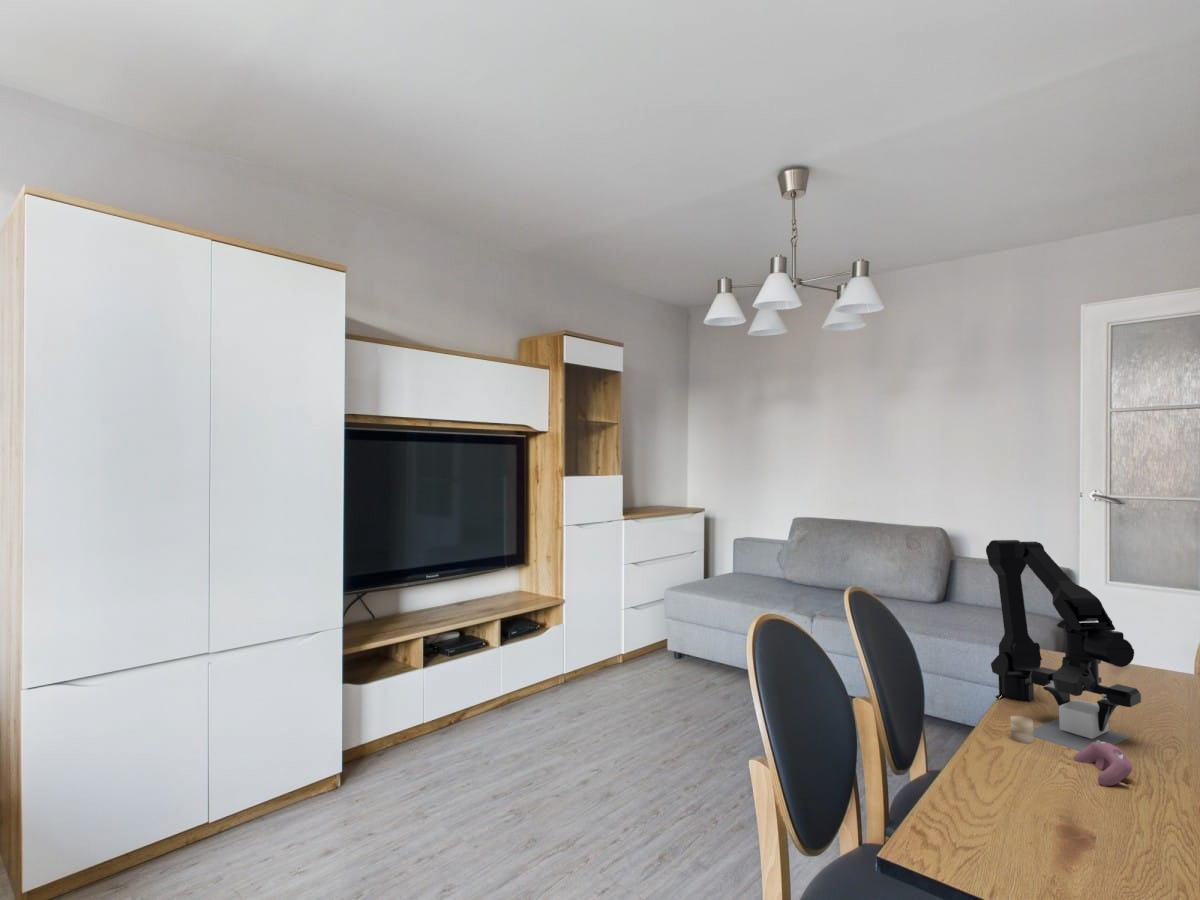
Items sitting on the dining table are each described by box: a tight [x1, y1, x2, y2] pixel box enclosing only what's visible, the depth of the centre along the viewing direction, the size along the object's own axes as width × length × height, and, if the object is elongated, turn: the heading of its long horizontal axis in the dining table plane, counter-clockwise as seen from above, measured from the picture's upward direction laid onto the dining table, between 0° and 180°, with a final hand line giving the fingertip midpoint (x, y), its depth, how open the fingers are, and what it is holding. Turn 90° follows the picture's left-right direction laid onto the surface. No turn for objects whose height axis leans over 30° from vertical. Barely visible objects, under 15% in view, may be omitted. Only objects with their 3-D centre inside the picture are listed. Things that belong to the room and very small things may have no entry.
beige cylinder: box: [1010, 715, 1035, 744], centre depth 135 cm, size 4×4×5 cm
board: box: [1033, 717, 1132, 752], centre depth 137 cm, size 13×17×1 cm
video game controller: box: [1073, 740, 1133, 787], centre depth 121 cm, size 10×5×7 cm, turn 169°
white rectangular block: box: [1058, 698, 1110, 739], centre depth 139 cm, size 6×8×5 cm
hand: (1084, 726), depth 139 cm, fingers closed on white rectangular block, 6 cm apart
